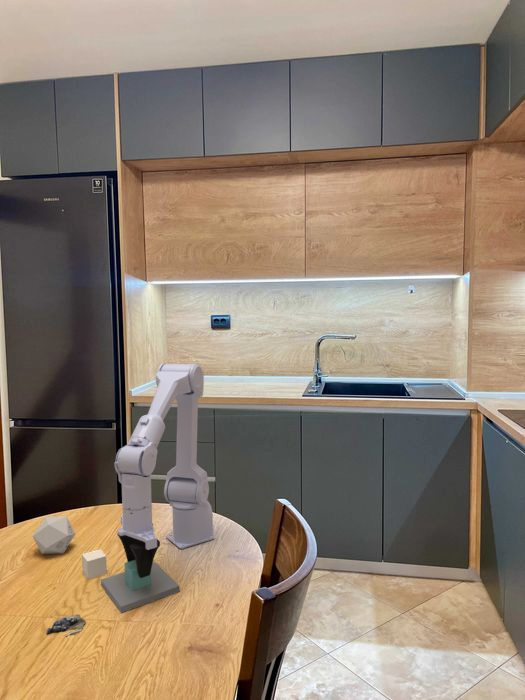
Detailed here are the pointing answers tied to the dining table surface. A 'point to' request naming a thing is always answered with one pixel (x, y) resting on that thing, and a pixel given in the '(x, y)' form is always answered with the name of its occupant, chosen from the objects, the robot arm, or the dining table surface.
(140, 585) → the teal cube
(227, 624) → the dining table surface
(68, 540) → the die
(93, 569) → the cream cube
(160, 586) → the plate
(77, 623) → the blueberries
